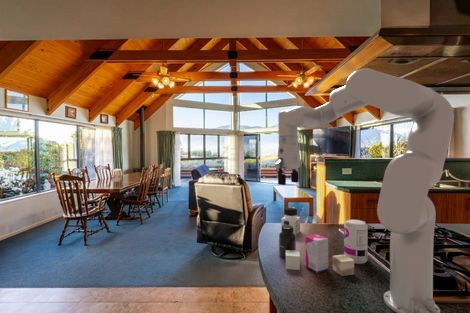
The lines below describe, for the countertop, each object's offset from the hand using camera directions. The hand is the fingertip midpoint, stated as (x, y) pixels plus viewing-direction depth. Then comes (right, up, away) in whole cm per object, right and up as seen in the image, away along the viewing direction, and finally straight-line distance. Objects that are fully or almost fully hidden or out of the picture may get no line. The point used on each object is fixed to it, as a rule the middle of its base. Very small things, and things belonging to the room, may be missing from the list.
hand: (288, 183), depth 100 cm
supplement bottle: (0, -30, +1) cm, 30 cm away
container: (+8, -29, +30) cm, 43 cm away
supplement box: (+8, -30, -10) cm, 33 cm away
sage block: (0, -30, -8) cm, 31 cm away
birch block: (+17, -30, -13) cm, 37 cm away
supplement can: (+25, -30, -3) cm, 39 cm away
